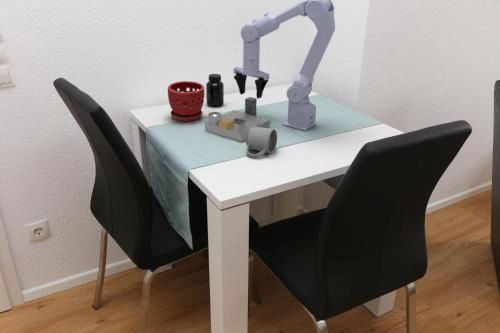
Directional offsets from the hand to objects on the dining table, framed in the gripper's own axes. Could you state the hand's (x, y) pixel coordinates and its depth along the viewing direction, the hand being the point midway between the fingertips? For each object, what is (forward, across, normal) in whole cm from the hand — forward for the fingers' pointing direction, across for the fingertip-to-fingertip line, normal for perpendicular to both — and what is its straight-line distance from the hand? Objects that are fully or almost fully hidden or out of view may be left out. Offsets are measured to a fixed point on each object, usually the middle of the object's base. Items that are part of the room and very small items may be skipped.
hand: (250, 95), depth 172 cm
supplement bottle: (+8, +19, -2) cm, 21 cm away
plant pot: (+8, +18, +15) cm, 25 cm away
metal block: (+8, 0, 0) cm, 8 cm away
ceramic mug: (+8, -21, +23) cm, 32 cm away
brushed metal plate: (+8, -4, +13) cm, 16 cm away
